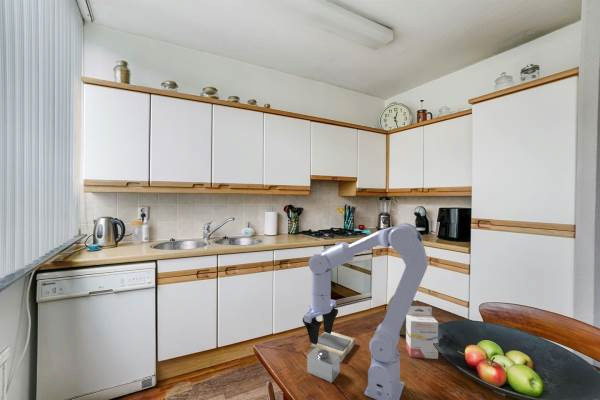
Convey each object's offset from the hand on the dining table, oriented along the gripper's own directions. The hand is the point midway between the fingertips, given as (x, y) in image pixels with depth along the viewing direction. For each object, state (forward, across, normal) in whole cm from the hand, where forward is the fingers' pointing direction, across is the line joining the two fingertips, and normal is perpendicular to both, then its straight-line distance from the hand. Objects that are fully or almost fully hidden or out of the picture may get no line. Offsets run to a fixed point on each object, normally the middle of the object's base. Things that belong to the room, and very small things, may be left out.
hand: (321, 337), depth 77 cm
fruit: (+9, -36, +13) cm, 39 cm away
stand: (+9, -11, -2) cm, 14 cm away
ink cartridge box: (+9, -25, +22) cm, 35 cm away
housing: (+9, +2, +2) cm, 9 cm away
